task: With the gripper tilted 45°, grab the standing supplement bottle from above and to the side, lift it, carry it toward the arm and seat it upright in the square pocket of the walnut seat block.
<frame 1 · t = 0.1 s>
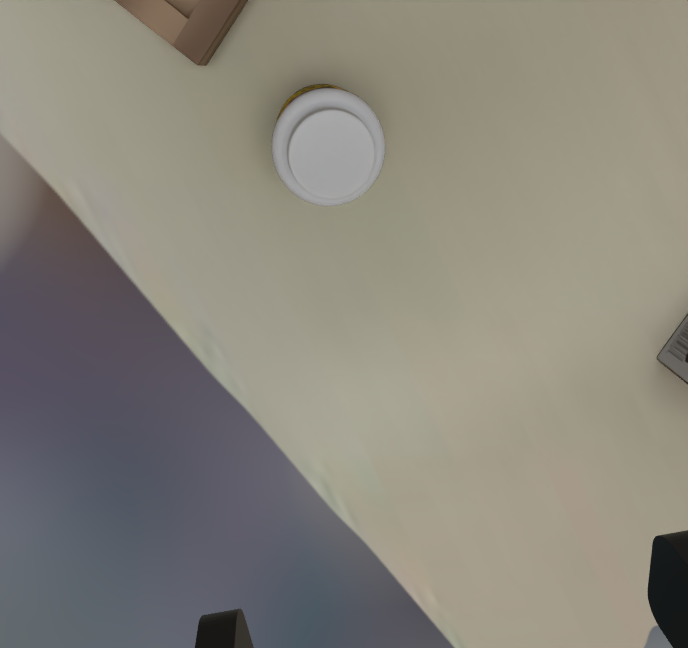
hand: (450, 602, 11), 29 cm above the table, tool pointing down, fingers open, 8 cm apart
supplement bottle: (320, 132, 36), on the table
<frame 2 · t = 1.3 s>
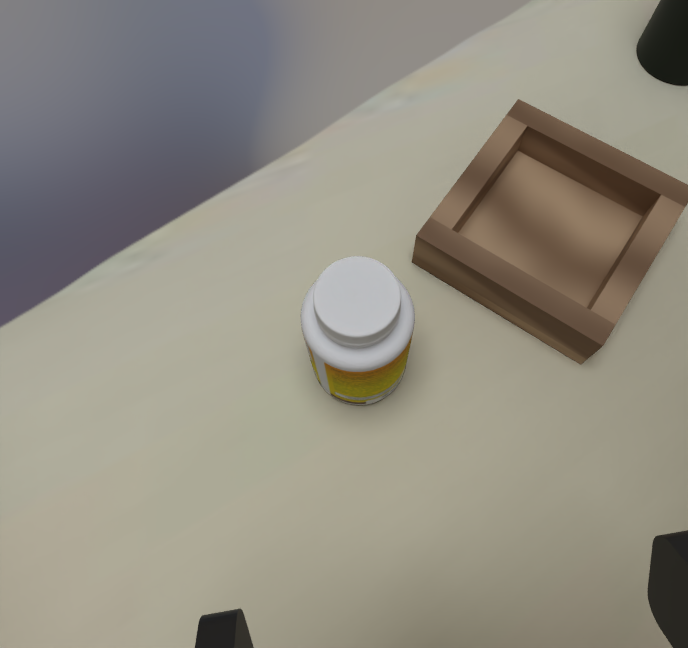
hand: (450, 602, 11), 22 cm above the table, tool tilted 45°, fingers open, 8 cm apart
supplement bottle: (359, 362, 36), on the table
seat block: (540, 240, 38), on the table
wine bottle: (675, 56, 43), on the table
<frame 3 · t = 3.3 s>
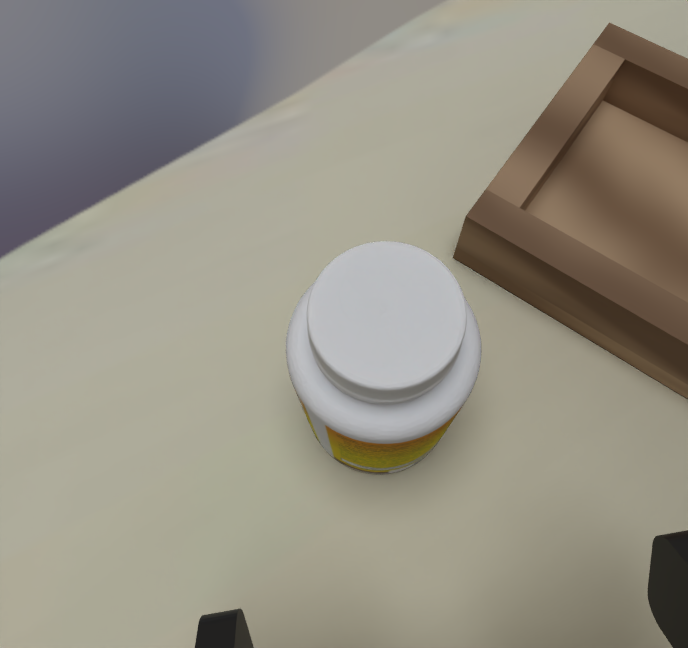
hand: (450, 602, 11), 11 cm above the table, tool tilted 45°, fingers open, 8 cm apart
supplement bottle: (376, 406, 24), on the table
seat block: (639, 228, 26), on the table
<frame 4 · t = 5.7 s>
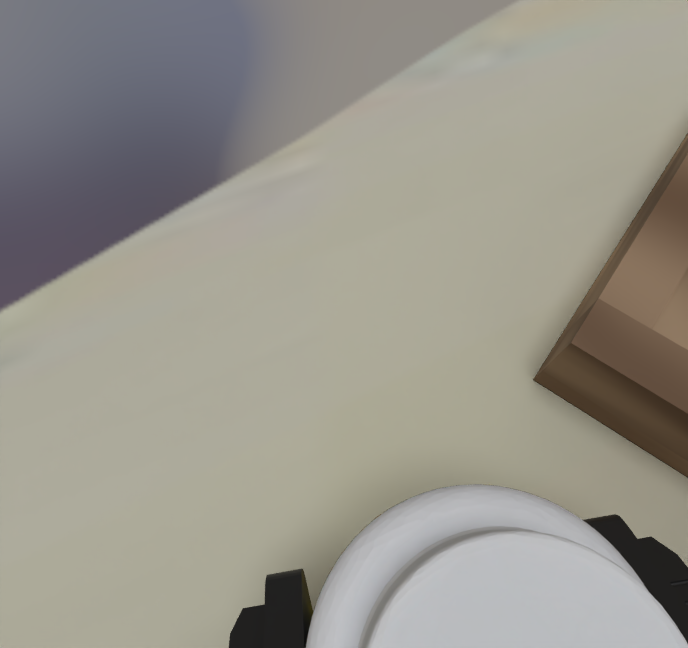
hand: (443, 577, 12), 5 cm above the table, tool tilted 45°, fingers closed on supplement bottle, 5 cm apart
supplement bottle: (430, 617, 16), on the table, touching gripper
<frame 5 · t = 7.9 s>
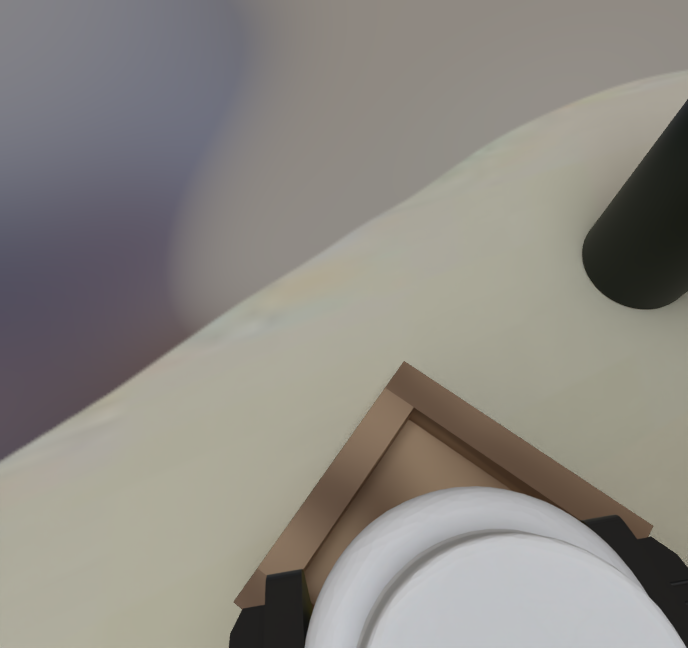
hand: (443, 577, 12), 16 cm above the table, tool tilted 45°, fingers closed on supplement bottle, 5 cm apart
supplement bottle: (429, 619, 16), point 11 cm above the table, touching gripper
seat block: (435, 561, 27), on the table
wine bottle: (634, 262, 32), on the table
when the fingers open (7 cm above the table, at t = 10.3 s): supplement bottle drops 1 cm, resting on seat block.
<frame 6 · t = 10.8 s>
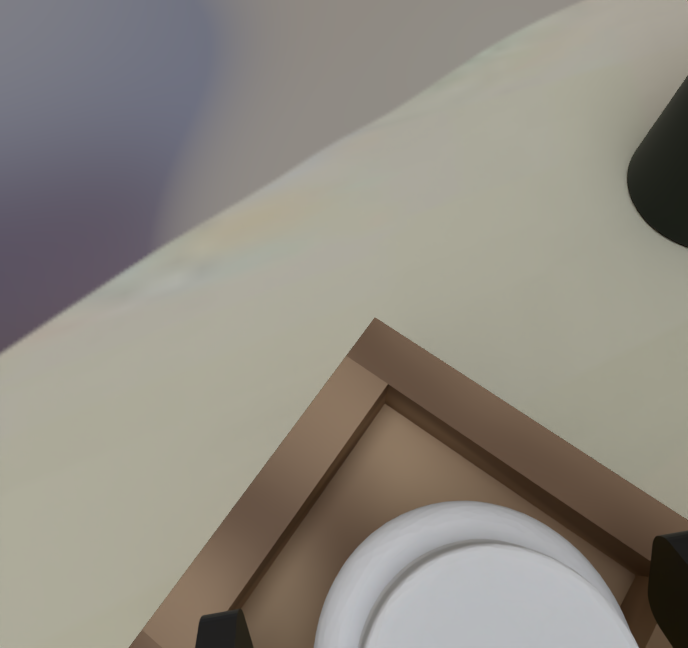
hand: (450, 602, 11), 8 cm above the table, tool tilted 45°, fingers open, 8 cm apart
supplement bottle: (428, 620, 17), point 1 cm above the table, touching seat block
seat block: (422, 610, 18), on the table
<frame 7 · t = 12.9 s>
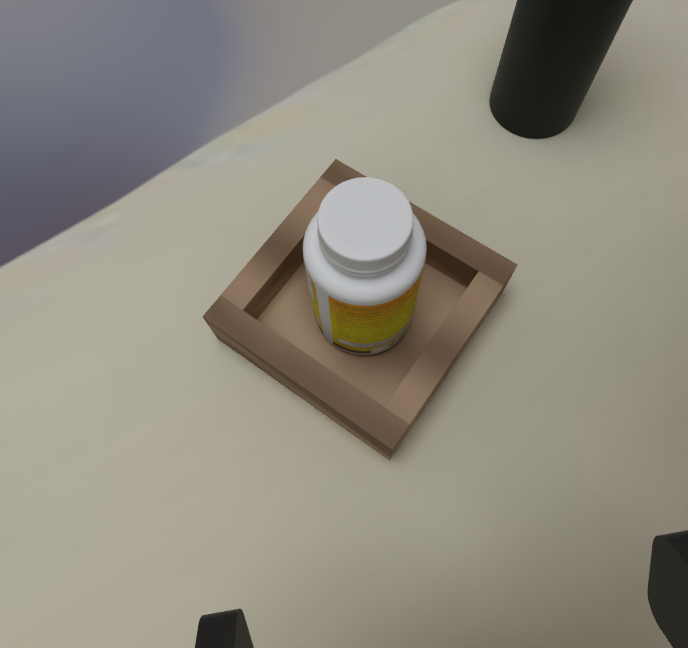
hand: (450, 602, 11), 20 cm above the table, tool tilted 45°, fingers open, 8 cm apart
supplement bottle: (363, 312, 34), point 1 cm above the table, touching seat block
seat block: (361, 314, 35), on the table
wine bottle: (531, 105, 40), on the table
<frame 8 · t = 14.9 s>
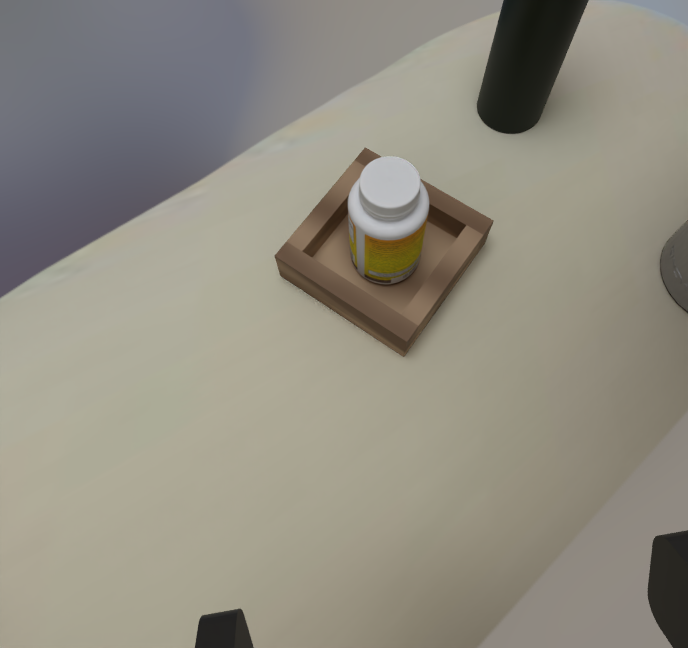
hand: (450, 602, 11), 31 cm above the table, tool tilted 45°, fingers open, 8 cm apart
supplement bottle: (384, 256, 47), point 1 cm above the table, touching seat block
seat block: (383, 259, 48), on the table
wine bottle: (508, 109, 53), on the table
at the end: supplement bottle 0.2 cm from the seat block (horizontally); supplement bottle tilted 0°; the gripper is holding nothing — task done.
